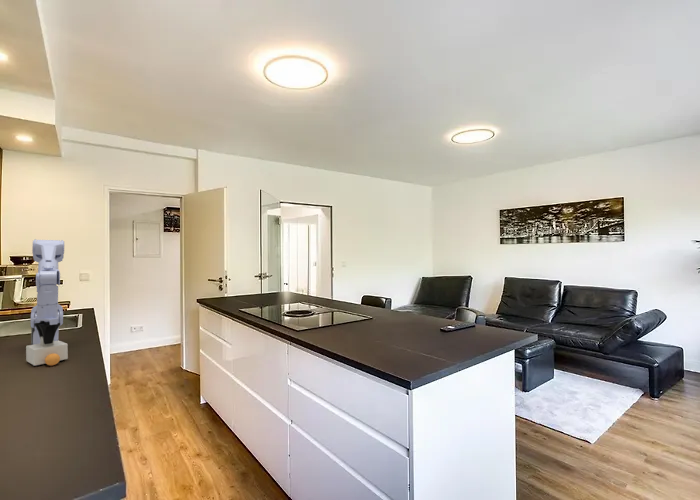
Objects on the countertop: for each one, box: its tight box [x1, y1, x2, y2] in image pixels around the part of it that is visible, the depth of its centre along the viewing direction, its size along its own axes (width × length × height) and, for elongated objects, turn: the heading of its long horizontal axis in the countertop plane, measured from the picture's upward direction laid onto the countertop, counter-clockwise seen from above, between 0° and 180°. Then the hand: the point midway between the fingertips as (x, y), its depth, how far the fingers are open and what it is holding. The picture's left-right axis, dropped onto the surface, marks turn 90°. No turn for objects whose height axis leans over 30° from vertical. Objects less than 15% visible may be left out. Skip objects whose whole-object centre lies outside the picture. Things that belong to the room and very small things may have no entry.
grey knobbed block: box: [25, 336, 69, 366], centre depth 126 cm, size 9×9×8 cm
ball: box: [45, 353, 61, 367], centre depth 122 cm, size 4×4×4 cm
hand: (46, 342), depth 126 cm, fingers closed on grey knobbed block, 3 cm apart
